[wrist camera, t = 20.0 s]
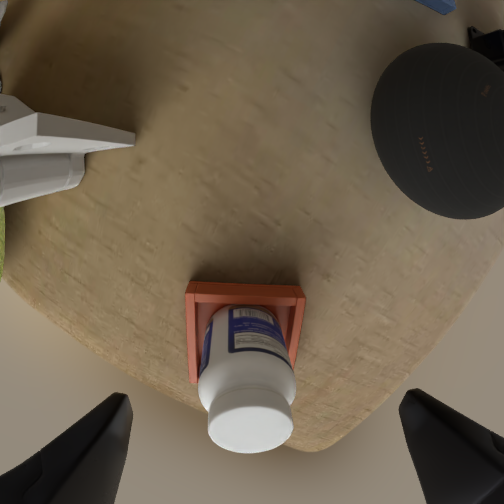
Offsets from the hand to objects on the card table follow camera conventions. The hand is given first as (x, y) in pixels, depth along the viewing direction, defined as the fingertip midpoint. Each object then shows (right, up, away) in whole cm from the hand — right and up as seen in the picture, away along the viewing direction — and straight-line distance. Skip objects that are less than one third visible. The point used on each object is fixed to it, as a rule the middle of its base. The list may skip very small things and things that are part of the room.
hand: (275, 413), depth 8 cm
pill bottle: (-1, -1, +12) cm, 12 cm away
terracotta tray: (-1, -1, +13) cm, 13 cm away
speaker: (+10, +13, +9) cm, 19 cm away
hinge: (-15, +13, +8) cm, 21 cm away
